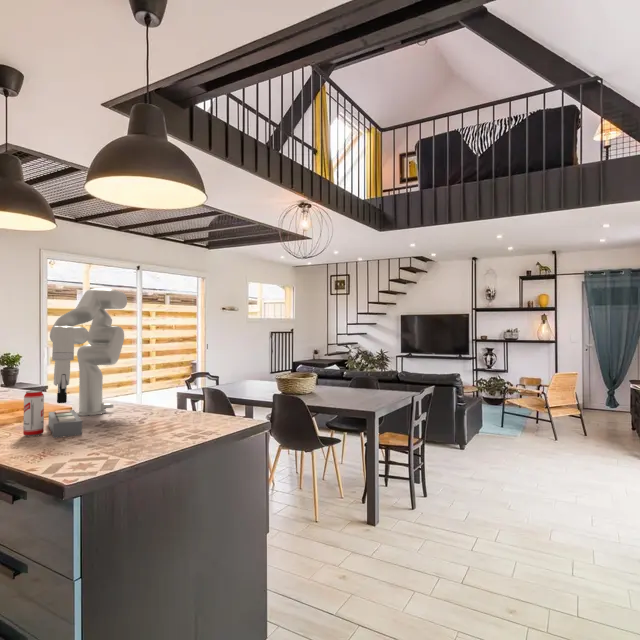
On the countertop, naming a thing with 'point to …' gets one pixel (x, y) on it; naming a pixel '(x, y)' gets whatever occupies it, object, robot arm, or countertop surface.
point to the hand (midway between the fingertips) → (61, 402)
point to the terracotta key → (62, 411)
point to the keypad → (65, 425)
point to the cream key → (66, 418)
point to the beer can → (33, 413)
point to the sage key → (64, 415)
